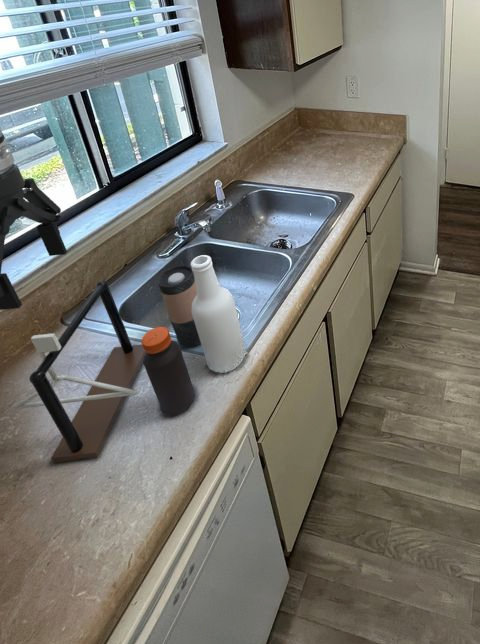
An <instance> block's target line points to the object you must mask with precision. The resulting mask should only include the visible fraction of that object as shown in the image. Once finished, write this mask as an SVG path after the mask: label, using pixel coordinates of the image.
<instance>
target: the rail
mask: <svg viewBox="0 0 480 644" xmlns="http://www.w3.org/2000/svg"><path fill="white" fill-rule="evenodd" d="M99 298H100V299H101V301H102V304H103V306H104V309H105V311H106V314H107V316H108V318H109V321H110V323H111V325H112V328H113V330H114V332H115V335H116V337H117V339H118V342H119V344H120V345H119V346H115V347H113V348H112V350H111V352H110V354H109V356H108V357H107V358H106V361H105V362H104V364H103V366H102V368H101V369H100V370H99V371H100V372H99V373H98V375H97V376H96V378H95V380H94V381H95V382H100V383H104V384H109V385H114V386H118V387H123V388H128V389H132V386H133V384H134V382H135V380H136V378H137V375H138V373H139V372H140V369H141V367H142V365H143V358H144V356H145V353H146V352H145V350H144V348H143V345H142V343H141V344H132V342H131V340H130V337H129V334H128V332H127V329H126V327H125V325H124V321H123V320H122V317H121V314H120V312H119V309H118V307H117V304H116V301H115V299H114V297H113V294H112V292H111V289H110V287H109V282H107V281H106V280H100V281H98V282H97V283H96V284H95V288H94V290H93V291H92V292H91V293H90V295H89V297H88V298H87V299H86V300H85V302H84V303H83V305H82V306H81V307H80V309H79V310H78V311H77V313H76V314H75V316H74V317H73V319H72V320H71V321H70V322H69V325H67V327H66V328H65V330H64V331H63V333H62V334H61V335H60V336H59V338H58V341H59V343H60V345H61V349H60V350H59V351H51V352H47V353H48V354H46V358H45V359H44V360H43V361H42V362H41V363H40V364H39V366H38V368H37V369H36V370H34V371H33V372H32V373H31V374H30V375H29V379H28V380H29V383H31V384H32V386H33V388H34V389H35V392H37V393H38V396H39V398H40V400H41V401H42V402H43V403H44V405H45V406H44V407H45V409H46V411H47V412H48V414H49V415H50V418H51V420H52V421H53V423H54V425H55V426H56V428H57V429H58V431H59V433H60V434H61V436H62V438H61V440H60V441H59V443H58V445H57V447H56V448H55V450H54V451H53V453H52V456H51V457H50V460H51V461H52V463H53V464H56V463H65V462H71V461H79V460H85V459H93V458H94V459H95V458H98V457H99V455H100V454H101V451H102V448H103V446H104V445H105V443H106V441H107V438H108V436H109V435H110V432H111V430H112V428H113V425H114V423H115V422H116V420H117V418H118V415H119V413H120V411H121V409H122V407H123V405H124V403H125V401H126V398H127V396H120V397H112V398H104V399H95V400H87V401H82V403H81V404H80V407H79V408H78V410H77V411H76V413H75V415H74V417H73V418H72V420H71V418H70V417H69V415H68V413H67V412H66V411H67V410H66V409H65V407H64V406H63V403H62V404H61V402H60V400H59V399H60V398H59V397H58V394H57V393H56V391H55V390H54V389H55V388H53V387H52V386H51V384H50V383H51V382H50V380H49V378H48V377H47V373H48V370H49V368H50V367H51V365H52V366H53V364H54V363H55V362H56V360H57V358H58V357H59V355H60V354H61V353H62V351H63V350H64V348H65V347H66V346H67V344H68V342H69V341H70V339H71V338H72V337H73V336H74V334H75V332H76V331H77V330H78V328H79V327H80V325H81V324H82V322H83V321H84V319H85V318H86V317H87V315H88V313H89V312H90V311H91V309H92V308H93V306H94V305H95V304H96V302H97V301H98V299H99ZM117 392H119V391H114V390H109V389H105V388H100V387H95V386H90V389H89V390H88V392H87V393H86V396H91V395H100V394H108V393H117Z"/></svg>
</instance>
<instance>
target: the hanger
mask: <svg viewBox="0 0 480 644" xmlns="http://www.w3.org/2000/svg"><path fill="white" fill-rule="evenodd" d="M58 340H59V338H58V337H57V335H56V333H55V332H54V333H44V334H35V335H32V336H31V338H30V341H31V342H32V344H33V346H34V348H35V350H36V351H37V354H38V355H39V357H40V359H41V361H42V362H43V360H44V359H45V358H46V356H47V354H46V353H49V352H51V351H59V350H60V349H61V345H60V343H59V341H58ZM47 373H48V374H49V376H50V378H51V379H52V381H51V382H50V384H51V386H52V388H53V387H55V386H57V385H58V384H60V383H62V382H64V381H67V382H72V383H76V384H81V385H86V386H89V387H92V386H95V387H100V388H105V389H109V390H114V391H119V392H117V393H108V394H100V395H91V396H87V395H84V396H76V397H66V398H58V399H59V400H60V402H61V404H62V405H63V404H70V403H79V402H83V401H87V400H95V399H104V398H112V397H120V396H135V395H137V394H138V390H136V389H132V388H130V389H128V388H123V387H118V386H114V385H109V384H104V383H100V382H95V380H94V381H93V380H90V379H87V378H80V377H76V376H72V375H68V374H67V375H66V374H61V375H57V373H56V371H55V369H54V367H53V364H52V365H51V367H50V368H49V370H48V371H47ZM38 396H39V395H38V393H37V391H35V392H33V393H31V394H30V395H28V396H27V397H25V398H23V399H22V400H20V401H18V402H16V403H14V404H13V405H12V407H11V408H12V410H19V409H20V410H21V409H28V408H36V407H45V405H44V403H43V402H42V400H41V401H34V402H29V401H31V400H33V399H34V398H37V397H38Z"/></svg>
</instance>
